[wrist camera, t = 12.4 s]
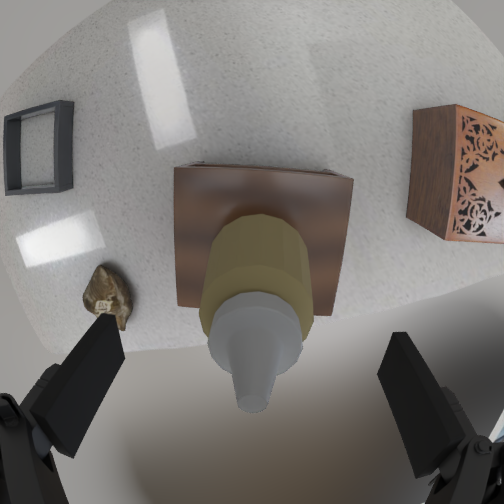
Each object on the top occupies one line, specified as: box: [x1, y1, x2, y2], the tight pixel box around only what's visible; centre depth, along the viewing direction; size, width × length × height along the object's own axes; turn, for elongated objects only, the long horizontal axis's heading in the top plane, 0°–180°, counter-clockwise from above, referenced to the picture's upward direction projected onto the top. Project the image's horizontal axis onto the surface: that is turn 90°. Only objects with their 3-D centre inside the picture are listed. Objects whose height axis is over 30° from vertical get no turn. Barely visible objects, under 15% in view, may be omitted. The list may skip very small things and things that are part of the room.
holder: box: [3, 100, 74, 196], centre depth 32 cm, size 13×13×4 cm
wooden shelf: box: [174, 161, 354, 316], centre depth 32 cm, size 14×16×10 cm
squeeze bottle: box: [199, 214, 314, 413], centre depth 19 cm, size 8×8×18 cm
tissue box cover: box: [406, 104, 504, 244], centre depth 28 cm, size 26×14×10 cm, turn 90°
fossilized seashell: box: [83, 265, 133, 331], centre depth 39 cm, size 8×7×10 cm
